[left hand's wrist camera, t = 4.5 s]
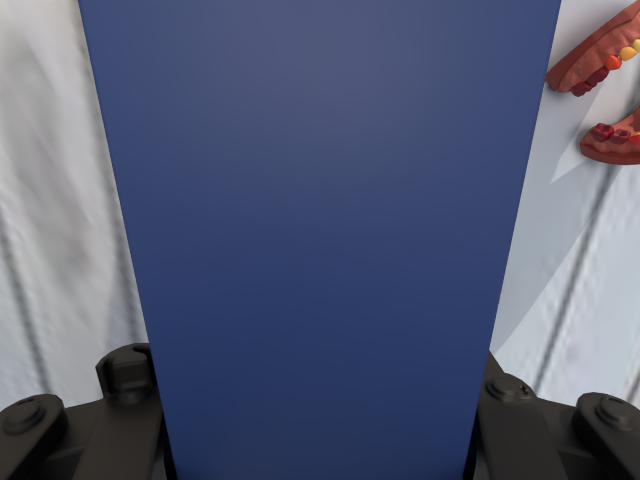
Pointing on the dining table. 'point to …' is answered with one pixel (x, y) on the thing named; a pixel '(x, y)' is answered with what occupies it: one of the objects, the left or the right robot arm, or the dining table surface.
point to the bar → (319, 219)
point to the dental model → (592, 67)
